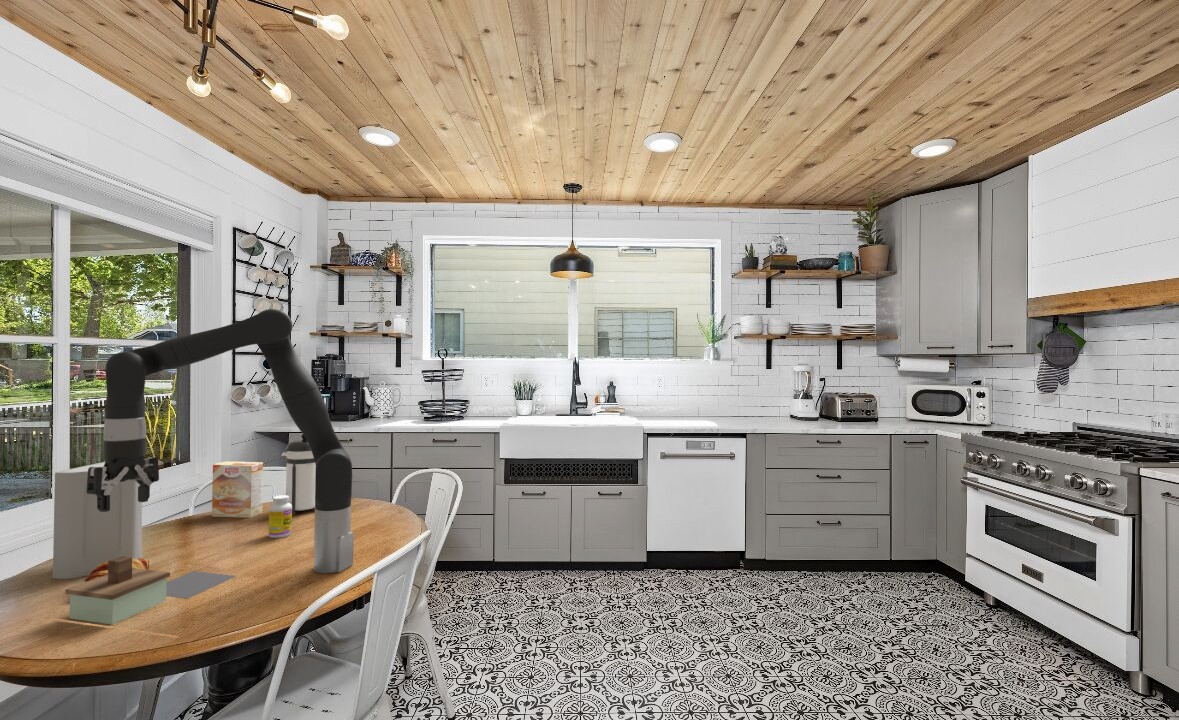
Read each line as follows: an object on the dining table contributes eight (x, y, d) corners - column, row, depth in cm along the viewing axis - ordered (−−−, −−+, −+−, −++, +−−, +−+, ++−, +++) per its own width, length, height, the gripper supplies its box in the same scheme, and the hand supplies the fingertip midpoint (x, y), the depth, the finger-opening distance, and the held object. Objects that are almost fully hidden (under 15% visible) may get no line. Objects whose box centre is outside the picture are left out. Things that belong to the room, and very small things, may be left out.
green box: (166, 602, 128) (166, 577, 128) (112, 626, 116) (112, 598, 116) (126, 596, 130) (126, 572, 130) (69, 619, 119) (69, 593, 119)
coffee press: (310, 517, 197) (311, 436, 197) (271, 514, 200) (273, 435, 200) (339, 505, 214) (340, 431, 215) (303, 502, 217) (304, 429, 217)
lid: (170, 576, 128) (170, 551, 128) (111, 599, 116) (112, 572, 116) (126, 571, 131) (127, 547, 131) (65, 593, 118) (65, 566, 118)
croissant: (138, 580, 148) (125, 555, 148) (171, 563, 149) (158, 538, 149) (67, 615, 127) (52, 585, 127) (107, 595, 128) (92, 565, 128)
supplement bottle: (284, 538, 174) (284, 499, 174) (264, 538, 174) (264, 499, 174) (295, 532, 180) (296, 494, 180) (276, 531, 181) (277, 494, 181)
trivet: (236, 577, 143) (236, 575, 143) (187, 600, 129) (187, 598, 129) (193, 572, 146) (193, 571, 146) (141, 594, 132) (141, 592, 132)
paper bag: (107, 578, 141) (109, 473, 141) (50, 578, 140) (52, 472, 140) (164, 552, 160) (165, 460, 160) (113, 552, 159) (115, 459, 160)
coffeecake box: (210, 517, 196) (211, 464, 196) (224, 511, 203) (225, 460, 203) (250, 518, 196) (251, 465, 196) (262, 512, 203) (263, 461, 203)
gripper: (104, 442, 116) (104, 516, 116) (168, 433, 130) (167, 499, 130) (77, 440, 118) (76, 513, 118) (143, 432, 132) (142, 497, 132)
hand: (124, 506), depth 124 cm, fingers open, 8 cm apart
